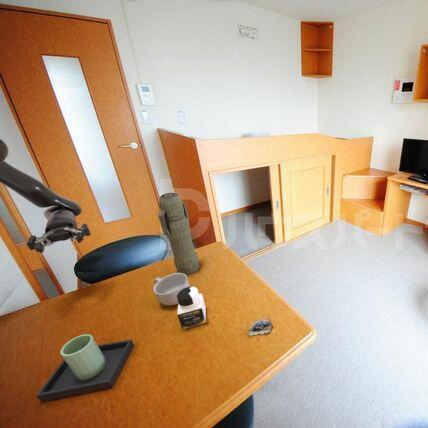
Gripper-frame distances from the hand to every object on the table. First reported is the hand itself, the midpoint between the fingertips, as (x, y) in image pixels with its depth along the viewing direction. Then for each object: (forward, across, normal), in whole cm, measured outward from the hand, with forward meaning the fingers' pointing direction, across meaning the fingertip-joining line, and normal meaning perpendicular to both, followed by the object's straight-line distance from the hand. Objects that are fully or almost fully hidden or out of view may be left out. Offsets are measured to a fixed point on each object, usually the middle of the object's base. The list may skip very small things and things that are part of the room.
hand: (59, 245), depth 75 cm
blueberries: (+49, +40, +26) cm, 68 cm away
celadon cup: (+30, -1, +25) cm, 39 cm away
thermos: (0, +32, +26) cm, 41 cm away
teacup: (+15, +23, +26) cm, 38 cm away
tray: (+30, -1, +26) cm, 40 cm away
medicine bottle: (+30, +25, +26) cm, 47 cm away
